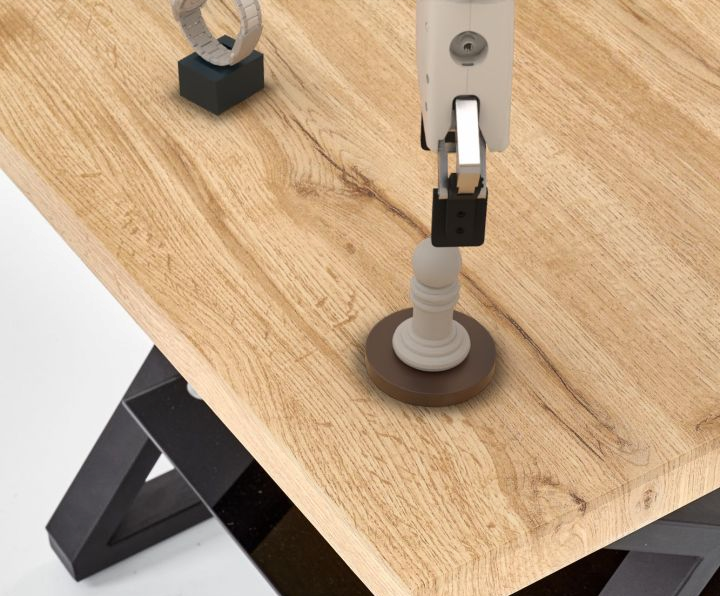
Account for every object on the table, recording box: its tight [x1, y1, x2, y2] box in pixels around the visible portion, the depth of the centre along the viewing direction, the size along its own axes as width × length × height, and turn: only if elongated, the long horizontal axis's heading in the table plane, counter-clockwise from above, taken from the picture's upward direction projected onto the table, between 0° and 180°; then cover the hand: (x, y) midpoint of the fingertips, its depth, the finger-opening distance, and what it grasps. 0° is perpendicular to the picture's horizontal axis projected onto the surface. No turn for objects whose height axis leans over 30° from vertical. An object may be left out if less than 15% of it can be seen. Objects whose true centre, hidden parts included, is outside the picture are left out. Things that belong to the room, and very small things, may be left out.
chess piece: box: [392, 236, 470, 371], centre depth 105 cm, size 5×5×9 cm
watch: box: [167, 0, 265, 116], centre depth 126 cm, size 6×8×11 cm
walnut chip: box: [364, 306, 497, 408], centre depth 108 cm, size 9×9×1 cm
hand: (450, 194), depth 99 cm, fingers open, 9 cm apart
